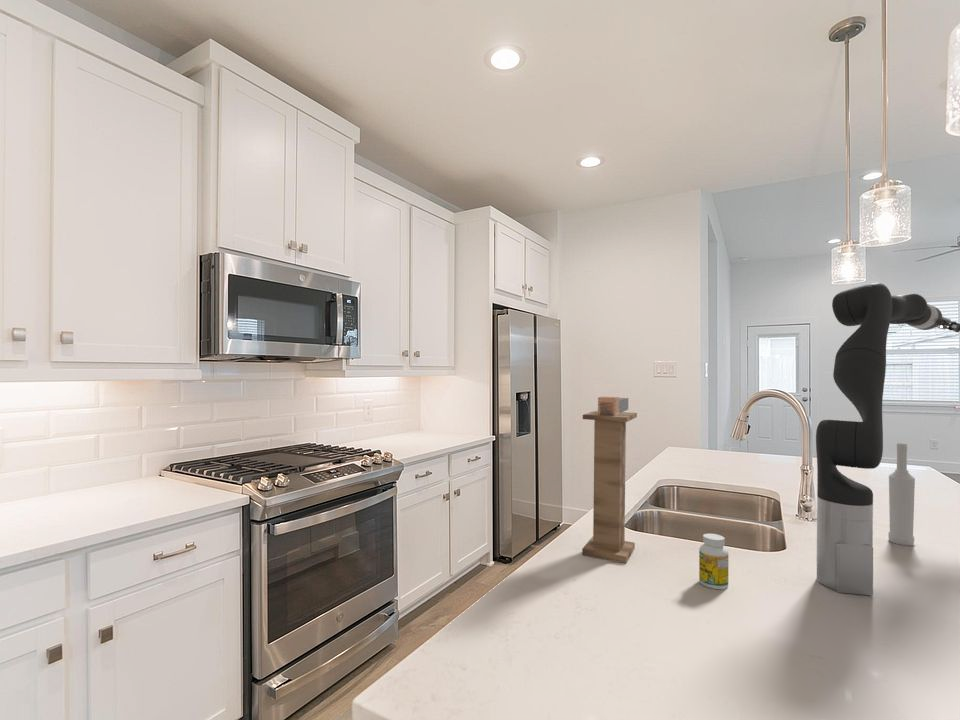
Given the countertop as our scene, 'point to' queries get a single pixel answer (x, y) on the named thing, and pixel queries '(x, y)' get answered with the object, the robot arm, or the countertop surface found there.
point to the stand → (609, 488)
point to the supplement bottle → (713, 562)
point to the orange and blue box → (612, 405)
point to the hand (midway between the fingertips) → (938, 322)
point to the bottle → (901, 500)
